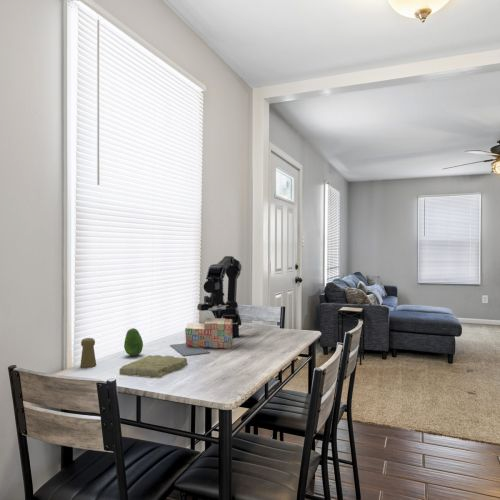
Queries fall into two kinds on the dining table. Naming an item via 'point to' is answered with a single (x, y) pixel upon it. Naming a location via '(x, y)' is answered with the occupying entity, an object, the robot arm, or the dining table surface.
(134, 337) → the avocado
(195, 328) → the stack of blocks
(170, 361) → the decorative tile
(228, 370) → the dining table surface
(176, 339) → the dining table surface
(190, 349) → the mat
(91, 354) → the cork
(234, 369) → the dining table surface
